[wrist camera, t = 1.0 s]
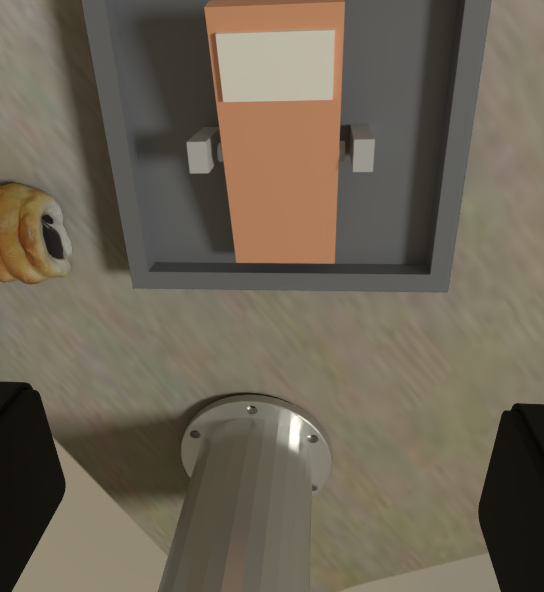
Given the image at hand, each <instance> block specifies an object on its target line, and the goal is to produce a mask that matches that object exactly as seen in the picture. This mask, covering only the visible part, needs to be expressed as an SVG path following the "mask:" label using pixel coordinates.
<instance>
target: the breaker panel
mask: <svg viewBox="0 0 544 592" xmlns="http://www.w3.org/2000/svg"><path fill="white" fill-rule="evenodd" d="M81 1H82V6H83V12H84V18H85V23H86V29H87V34H88V40H89V45H90V51H91V56H92V62H93V68H94V73H95V79H96V84H97V90H98V95H99V101H100V106H101V112H102V118H103V123H104V129H105V134H106V140H107V145H108V151H109V157H110V162H111V168H112V173H113V179H114V184H115V190H116V195H117V201H118V207H119V212H120V218H121V223H122V229H123V234H124V240H125V245H126V251H127V257H128V262H129V268H130V273H131V279H132V284H133V288H148V289H224V290H300V291H376V292H448V289H449V282H450V276H451V269H452V262H453V255H454V249H455V242H456V235H457V229H458V222H459V215H460V209H461V202H462V195H463V188H464V182H465V175H466V168H467V162H468V155H469V148H470V142H471V135H472V128H473V121H474V115H475V108H476V101H477V95H478V88H479V81H480V74H481V68H482V61H483V54H484V48H485V41H486V34H487V28H488V21H489V14H490V7H491V1H492V0H345V16H344V41H343V66H342V91H341V117H340V141H345V160H344V161H339V167H338V193H337V218H336V243H335V264H318V263H236V256H235V248H234V240H233V232H232V224H231V216H230V208H229V200H228V192H227V184H226V176H225V169H224V162H219V160H218V154H217V147H218V143H221V137H220V129H219V121H218V113H217V105H216V97H215V89H214V81H213V73H212V65H211V57H210V49H209V41H208V33H207V25H206V17H205V9H204V7H205V6H206V4H207V3H208V1H211V0H81Z"/></svg>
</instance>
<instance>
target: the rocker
mask: <svg viewBox="0 0 544 592" xmlns="http://www.w3.org/2000/svg"><path fill="white" fill-rule="evenodd" d="M204 9H205V17H206V25H207V33H208V41H209V49H210V57H211V65H212V73H213V81H214V89H215V97H216V105H217V113H218V121H219V129H220V137H221V143H218V147H217V154H218V160H219V162H224V169H225V176H226V184H227V192H228V200H229V208H230V216H231V224H232V232H233V240H234V248H235V256H236V263H318V264H335V243H336V218H337V193H338V167H339V161H344V160H345V141H340V117H341V91H342V66H343V41H344V16H345V0H211V1H208V3H207V4H206V6H205V7H204Z"/></svg>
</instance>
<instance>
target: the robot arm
mask: <svg viewBox="0 0 544 592" xmlns="http://www.w3.org/2000/svg"><path fill="white" fill-rule="evenodd" d="M180 453H181V459H182V464H183V466H184V468H185V471H186V473H187V475H188V476H189V477H190V482H189V486H188V489H187V493H186V496H185V500H184V503H183V506H182V510H181V513H180V517H179V520H178V524H177V527H176V531H175V534H174V537H173V541H172V544H171V548H170V551H169V555H168V558H167V562H166V565H165V568H164V572H163V576H162V579H161V582H160V586H159V589H158V592H310V550H311V508H312V498H313V497H314V496H315V495H316V494H318V493H319V492H320V490H321V489H322V488H323V487H324V485H325V484H326V482H327V480H328V477H329V475H330V470H331V464H332V462H331V448H330V444H329V440H328V438H327V436H326V434H325V432H324V430H323V429H322V428H321V426H320V425H319V424H318V423H317V422H316V420H315V419H313V418H312V417H311V416H310V415H309V414H307V413H306V412H305V411H303V410H302V409H300V408H298V407H296V406H295V405H293V404H291V403H288V402H285V401H283V400H280V399H277V398H272V397H268V396H262V395H238V396H231V397H227V398H223V399H220V400H218V401H215V402H213V403H211V404H209V405H207V406H206V407H204V408H203V409H201V410H200V411H199V412H198V413H197V414H196V415H195V416H194V417H193V418H192V419H191V420H190V422H189V424H188V426H187V428H186V430H185V433H184V436H183V439H182V442H181V452H180ZM64 492H65V478H64V475H63V472H62V468H61V465H60V461H59V458H58V455H57V451H56V448H55V444H54V441H53V437H52V434H51V431H50V427H49V424H48V420H47V417H46V414H45V410H44V407H43V403H42V400H41V397H40V394H39V392H38V391H37V390H33V388H32V386H31V385H30V384H29V383H25V382H0V592H12V590H13V588H14V586H15V584H16V583H17V581H18V579H19V577H20V575H21V573H22V572H23V570H24V568H25V566H26V564H27V562H28V561H29V559H30V557H31V555H32V553H33V552H34V550H35V548H36V546H37V544H38V542H39V541H40V539H41V537H42V535H43V533H44V531H45V529H46V528H47V526H48V524H49V522H50V520H51V519H52V517H53V515H54V513H55V511H56V510H57V508H58V506H59V504H60V502H61V500H62V498H63V496H64ZM478 513H479V522H480V526H481V529H482V532H483V536H484V539H485V542H486V545H487V548H488V552H489V555H490V558H491V561H492V564H493V568H494V571H495V574H496V577H497V580H498V584H499V587H500V590H501V592H544V404H521V403H517V404H514V405H513V407H512V409H511V411H504V412H503V413H502V416H501V420H500V424H499V428H498V432H497V435H496V439H495V443H494V447H493V451H492V455H491V459H490V463H489V467H488V471H487V475H486V479H485V483H484V487H483V491H482V495H481V499H480V503H479V510H478Z"/></svg>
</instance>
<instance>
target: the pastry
mask: <svg viewBox="0 0 544 592" xmlns="http://www.w3.org/2000/svg"><path fill="white" fill-rule="evenodd" d="M72 253H73V251H72V245H71V241H70V239H69V237H68V234H67V232H66V230H65V228H64V226H63V215H62V211H61V208H60V205H59V203H58V202H57V201H56V200H55V199H54V198H53V197H52V196H51V195H49V194H47V193H45V192H43V191H41V190H39V189H36V188H33V187H30V186H27V185H23V184H17V183H10V184H6V185H2V186H0V281H1V282H11V281H15V280H21V281H22V282H23V283H26V284H37V283H40V282H42V281H44V280H46V279H49V278H53V277H65V276H67V275H68V274H69V272H70V271H71V269H72V264H71V261H72V257H71V254H72Z"/></svg>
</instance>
